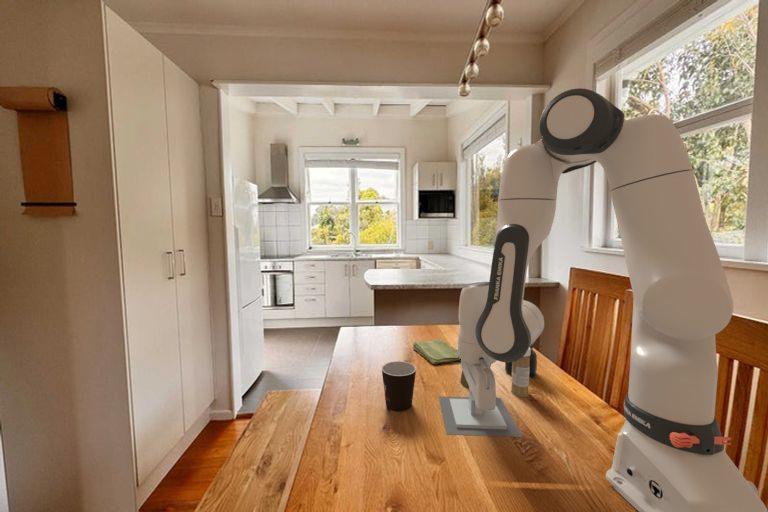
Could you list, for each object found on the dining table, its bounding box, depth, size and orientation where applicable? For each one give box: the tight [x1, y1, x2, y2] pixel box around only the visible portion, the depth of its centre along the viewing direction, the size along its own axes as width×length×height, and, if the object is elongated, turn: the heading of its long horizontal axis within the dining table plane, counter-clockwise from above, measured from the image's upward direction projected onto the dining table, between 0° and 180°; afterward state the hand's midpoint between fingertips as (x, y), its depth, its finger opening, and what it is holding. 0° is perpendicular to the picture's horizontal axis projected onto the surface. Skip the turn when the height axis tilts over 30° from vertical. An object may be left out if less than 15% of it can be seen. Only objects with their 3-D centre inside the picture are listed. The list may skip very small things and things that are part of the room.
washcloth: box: [412, 339, 461, 365], centre depth 116 cm, size 13×18×3 cm
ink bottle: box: [504, 343, 538, 379], centre depth 101 cm, size 10×9×12 cm
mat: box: [438, 395, 523, 438], centre depth 77 cm, size 16×16×1 cm
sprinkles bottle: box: [510, 347, 531, 398], centre depth 87 cm, size 5×5×13 cm
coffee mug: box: [381, 360, 417, 413], centre depth 83 cm, size 12×9×10 cm
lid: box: [449, 393, 507, 429], centre depth 77 cm, size 11×11×4 cm
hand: (476, 407), depth 77 cm, fingers closed on lid, 3 cm apart
